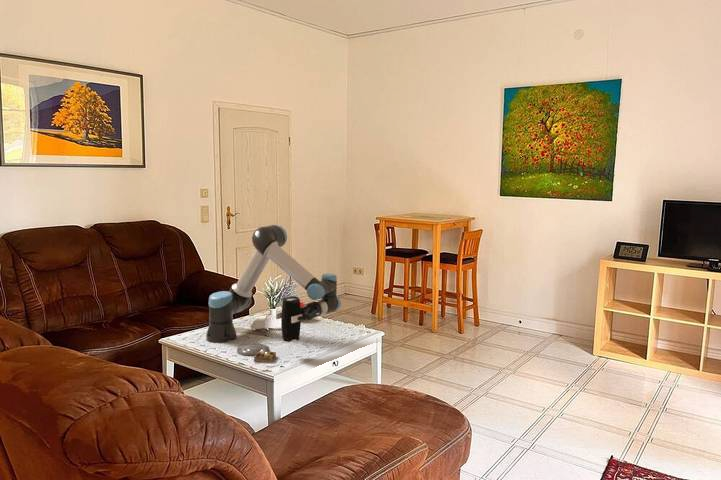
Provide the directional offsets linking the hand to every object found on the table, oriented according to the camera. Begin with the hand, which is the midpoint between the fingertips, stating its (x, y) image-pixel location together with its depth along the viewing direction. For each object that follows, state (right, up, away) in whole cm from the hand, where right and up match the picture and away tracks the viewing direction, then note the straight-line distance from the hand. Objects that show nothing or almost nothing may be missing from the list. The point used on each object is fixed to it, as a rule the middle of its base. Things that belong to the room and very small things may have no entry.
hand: (284, 318), depth 249 cm
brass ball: (-8, -17, +1) cm, 19 cm away
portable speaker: (+2, -11, +5) cm, 12 cm away
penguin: (-18, -14, +53) cm, 58 cm away
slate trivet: (-17, -18, +15) cm, 29 cm away
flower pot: (-3, -11, +71) cm, 72 cm away
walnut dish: (-9, -19, +3) cm, 21 cm away
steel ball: (-10, -17, +5) cm, 20 cm away
